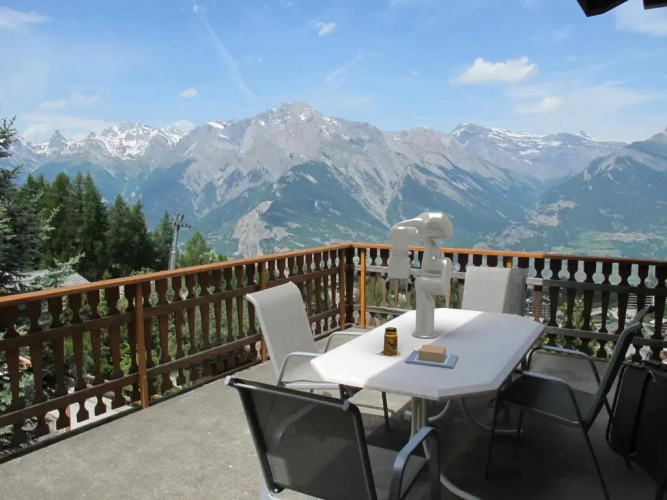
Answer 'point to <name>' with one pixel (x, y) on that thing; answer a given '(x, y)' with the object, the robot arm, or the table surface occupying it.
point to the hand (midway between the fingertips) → (398, 291)
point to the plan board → (448, 365)
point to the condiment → (390, 342)
